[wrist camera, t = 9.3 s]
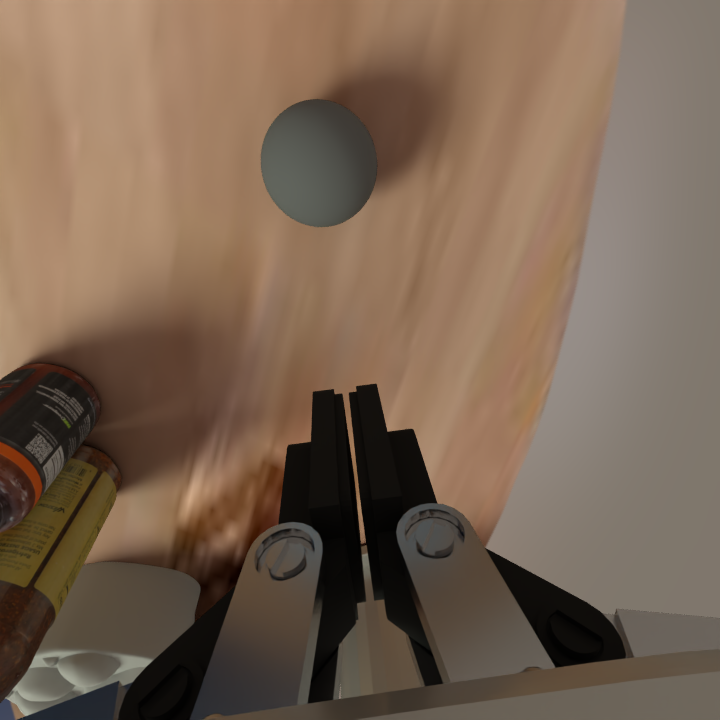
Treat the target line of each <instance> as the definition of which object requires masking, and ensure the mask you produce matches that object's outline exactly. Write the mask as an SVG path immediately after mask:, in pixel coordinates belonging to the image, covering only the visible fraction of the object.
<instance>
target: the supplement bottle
mask: <svg viewBox="0 0 720 720" xmlns="http://www.w3.org/2000/svg"><path fill="white" fill-rule="evenodd" d="M99 416H100V402H99V399H98V396H97V394H96V392H95V391H94V389H93V388H92V387H91V385H90V384H89V383H88V382H87V381H85V380H84V379H83V378H82V377H81V376H79V375H78V374H76V373H74V372H73V371H71V370H69V369H66V368H63V367H60V366H56V365H51V364H43V363H36V364H29V365H25V366H22V367H20V368H17V369H16V370H14V371H12V372H11V373H10V374H8V375H7V376H5V377H4V378H2V379H1V380H0V533H1V532H4V531H6V530H8V529H10V528H12V527H14V526H15V525H17V524H18V523H20V522H21V521H22V520H23V519H24V518H25V517H26V516H27V515H28V514H29V513H30V511H31V510H32V509H33V507H34V506H35V505H36V503H37V502H38V501H39V499H40V498H41V497H42V496H43V494H44V493H45V492H46V490H47V489H48V487H49V486H50V485H51V484H52V482H53V481H54V479H55V478H56V477H57V475H58V474H59V473H60V471H61V470H62V469H63V468H64V466H65V465H66V463H67V462H68V461H69V459H70V458H71V457H72V456H73V454H74V453H75V452H76V450H77V449H78V448H79V446H80V445H81V444H82V442H83V441H84V440H85V438H86V437H87V436H88V434H89V433H90V432H91V431H92V429H93V427H94V426H95V424H96V422H97V421H98V419H99Z"/></svg>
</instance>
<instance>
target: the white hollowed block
mask: <svg viewBox="0 0 720 720" xmlns="http://www.w3.org/2000/svg"><path fill="white" fill-rule="evenodd" d="M200 590H201V589H200V585H199V583H198V582H197V581H196V580H195V579H194V578H192V577H191V576H189V575H187V574H185V573H183V572H180V571H177V570H173V569H169V568H163V567H157V566H151V565H144V564H136V563H125V562H97V563H92V564H87V565H83V566H82V568H81V570H80V572H79V574H78V576H77V578H76V580H75V582H74V584H73V586H72V588H71V589H70V591H69V593H68V595H67V597H66V599H65V602H64V603H63V605H62V607H61V609H60V611H59V613H58V615H57V617H56V619H55V621H54V623H53V625H52V626H51V627H50V628H49V629H48V631H47V633H46V635H45V637H44V638H43V641H42V643H41V644H40V646H39V649H38V650H37V652H36V654H35V657H34V659H33V661H32V664H31V665H30V667H29V669H28V671H27V672H26V674H25V675H24V676H23V678H22V679H21V680H20V681H19V682H18V684H17V685H16V686H15V687H14V688H13V690H12V691H11V692H10V693H9V695H8V696H7V697H6V698H5V699H8V700H10V701H12V702H13V703H15V704H17V705H18V707H19V709H20V711H21V712H22V713H23V714H24V715H25V716H28V715H30V714H33V713H36V712H38V711H41V710H43V709H46V708H49V707H51V706H54V705H56V704H59V703H62V702H64V701H67V700H70V699H72V698H75V697H77V696H80V695H83V694H85V693H88V692H90V691H93V690H96V689H98V688H101V687H104V686H106V685H109V684H111V683H114V682H117V681H120V682H121V684H122V685H123V686H124V685H126V684H129V683H131V682H133V681H134V680H135V679H136V677H137V676H138V675H139V674H140V673H141V672H142V671H143V670H144V669H145V668H146V667H147V665H149V664H150V663H151V662H152V661H153V660H154V659H155V658H156V657H157V656H159V655H160V654H161V653H162V652H163V651H164V650H165V649H166V648H167V647H168V646H170V645H171V644H172V643H173V642H174V641H175V640H176V639H177V638H178V637H180V636H181V635H182V634H183V633H184V632H185V631H186V630H187V629H188V628H189V627H191V626H192V625H193V624H194V621H195V610H196V606H197V603H198V599H199V595H200Z"/></svg>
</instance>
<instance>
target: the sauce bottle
mask: <svg viewBox="0 0 720 720" xmlns="http://www.w3.org/2000/svg"><path fill="white" fill-rule="evenodd" d="M120 484H121V474H120V472H119V470H118V468H117V467H116V465H115V464H114V463H113V461H112V460H111V459H110V458H109V457H108V456H107V455H106V454H105V453H103V452H101V451H99V450H97V449H96V448H92V447H88V446H85V445H83V444H81V445H80V446H79V448H78V449H77V450H76V452H75V453H74V454H73V456H72V457H71V458H70V459H69V461H68V462H67V463H66V465H65V466H64V468H63V469H62V470H61V471H60V473H59V474H58V475H57V477H56V478H55V479H54V481H53V482H52V484H51V485H50V486H49V487H48V489H47V490H46V492H45V493H44V494H43V496H42V497H41V498H40V499H39V501H38V502H37V503H36V505H35V506H34V507H33V509H32V510H31V511H30V513H29V514H28V515H27V516H26V517H25V518H24V519H23V520H22V521H21V522H20V523H18V524H17V525H15V526H14V527H12V528H10V529H8V530H6V531H4V532H1V533H0V703H1V702H2V701H3V700H4V699H5V698H6V697H7V696H8V695H9V693H10V692H11V691H12V690H13V688H14V687H15V686H16V685H17V684H18V682H19V681H20V680H21V679H22V678H23V676H24V675H25V674H26V672H27V671H28V669H29V667H30V665H31V664H32V661H33V659H34V657H35V654H36V652H37V650H38V649H39V646H40V644H41V643H42V641H43V638H44V637H45V635H46V633H47V631H48V629H49V628H50V627H51V626H52V625H53V623H54V621H55V619H56V617H57V615H58V613H59V611H60V609H61V607H62V605H63V603H64V602H65V599H66V597H67V595H68V593H69V591H70V589H71V588H72V586H73V584H74V582H75V580H76V578H77V576H78V574H79V572H80V570H81V568H82V566H83V564H84V562H85V560H86V558H87V556H88V554H89V552H90V550H91V548H92V546H93V544H94V542H95V540H96V538H97V536H98V534H99V532H100V530H101V528H102V526H103V524H104V522H105V520H106V519H107V517H108V515H109V513H110V511H111V509H112V507H113V505H114V502H115V500H116V493H117V491H118V489H119V486H120Z"/></svg>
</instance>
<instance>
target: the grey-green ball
mask: <svg viewBox="0 0 720 720" xmlns="http://www.w3.org/2000/svg"><path fill="white" fill-rule="evenodd" d="M261 170H262V176H263V180H264V183H265V186H266V188H267V191H268V193H269V194H270V196H271V198H272V200H273V201H274V202H275V204H276V205H277V206H278V207H279V208H280V209H281V210H282V211H283V212H284V213H285V214H286V215H288V216H289V217H290V218H292V219H294V220H296V221H298V222H300V223H302V224H305V225H309V226H314V227H329V226H334V225H337V224H340V223H343V222H345V221H346V220H348V219H350V218H352V217H353V216H354V215H355V214H357V213H358V212H359V211H360V210H361V209H362V207H363V206H364V205H365V203H366V202H367V200H368V199H369V197H370V195H371V193H372V191H373V188H374V185H375V181H376V175H377V156H376V151H375V147H374V143H373V140H372V138H371V136H370V134H369V132H368V130H367V128H366V127H365V125H364V124H363V123H362V122H361V120H360V119H359V118H358V117H357V116H356V115H355V114H354V113H352V112H351V111H350V110H348V109H347V108H345V107H344V106H342V105H339V104H337V103H335V102H332V101H328V100H320V99H313V100H306V101H302V102H299V103H296V104H294V105H292V106H290V107H289V108H287V109H286V110H284V111H283V112H282V113H281V114H280V115H279V116H278V117H277V118H276V119H275V120H274V122H273V123H272V124H271V126H270V127H269V129H268V131H267V133H266V136H265V138H264V142H263V145H262V151H261Z"/></svg>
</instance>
